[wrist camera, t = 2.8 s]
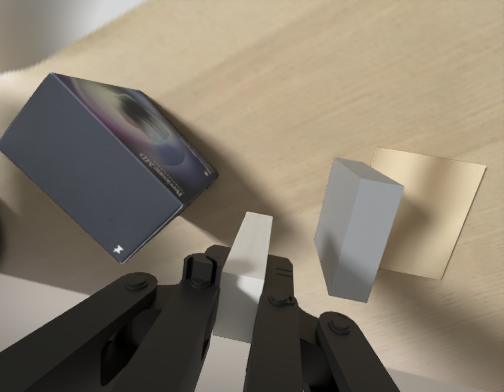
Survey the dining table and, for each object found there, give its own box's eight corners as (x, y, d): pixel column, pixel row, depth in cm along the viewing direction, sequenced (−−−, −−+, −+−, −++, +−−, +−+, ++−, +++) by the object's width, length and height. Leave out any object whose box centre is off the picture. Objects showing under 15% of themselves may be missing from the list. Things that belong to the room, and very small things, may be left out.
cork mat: (344, 259, 28) (344, 261, 27) (376, 146, 24) (377, 147, 24) (438, 277, 27) (440, 280, 27) (483, 165, 24) (486, 165, 24)
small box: (224, 172, 27) (189, 206, 16) (178, 216, 28) (121, 271, 18) (141, 85, 25) (47, 65, 15) (98, 136, 27) (-12, 148, 17)
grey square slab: (314, 239, 27) (328, 295, 19) (333, 157, 25) (361, 178, 16) (341, 244, 27) (368, 303, 19) (363, 162, 25) (406, 186, 16)
